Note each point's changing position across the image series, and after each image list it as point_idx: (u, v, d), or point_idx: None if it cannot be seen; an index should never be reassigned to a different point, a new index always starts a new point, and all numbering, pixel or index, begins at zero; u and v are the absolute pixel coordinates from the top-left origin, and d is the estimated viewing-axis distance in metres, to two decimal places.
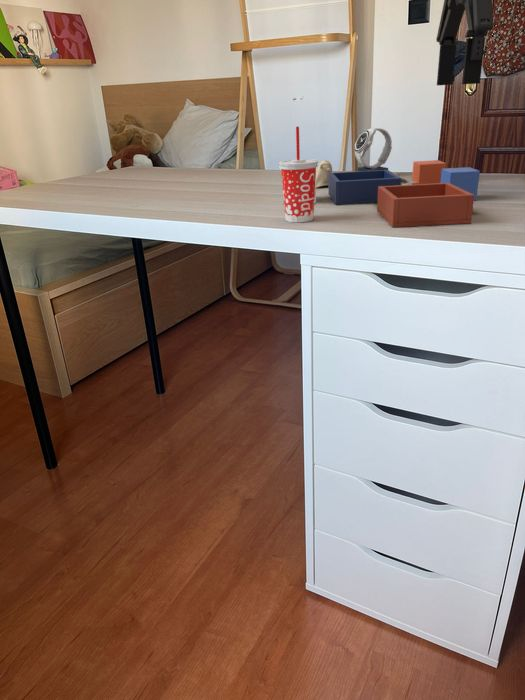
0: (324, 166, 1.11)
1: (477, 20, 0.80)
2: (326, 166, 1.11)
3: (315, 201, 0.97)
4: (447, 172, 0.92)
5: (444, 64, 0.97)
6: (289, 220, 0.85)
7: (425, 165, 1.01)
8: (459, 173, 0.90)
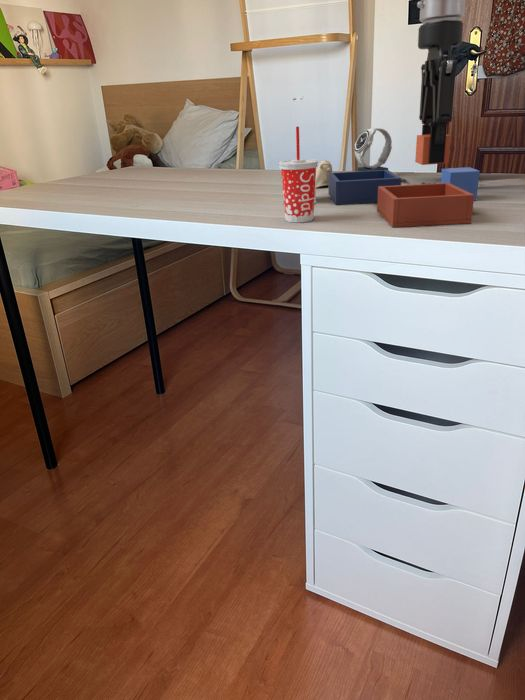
0: (324, 166, 1.11)
1: (439, 115, 0.94)
2: (326, 166, 1.11)
3: (315, 201, 0.97)
4: (447, 172, 0.92)
5: None
6: (289, 220, 0.85)
7: (429, 138, 0.99)
8: (459, 173, 0.90)
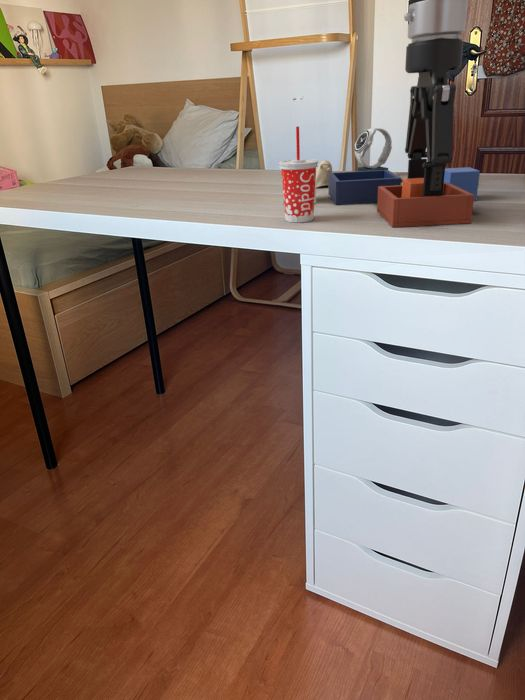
0: (324, 166, 1.11)
1: (435, 155, 0.72)
2: (326, 166, 1.11)
3: (315, 201, 0.97)
4: (447, 172, 0.92)
5: None
6: (289, 220, 0.85)
7: (417, 185, 0.78)
8: (459, 173, 0.90)
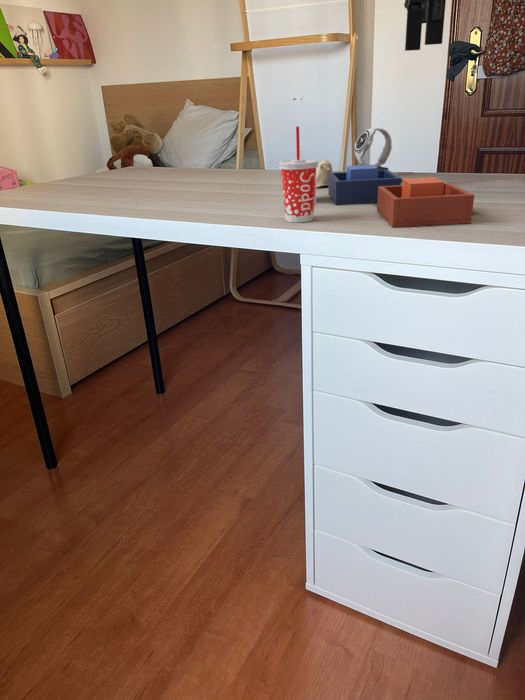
0: (324, 166, 1.11)
1: None
2: (326, 166, 1.11)
3: (315, 201, 0.97)
4: (349, 169, 0.97)
5: (412, 29, 0.99)
6: (289, 220, 0.85)
7: (417, 185, 0.78)
8: (358, 170, 0.96)
